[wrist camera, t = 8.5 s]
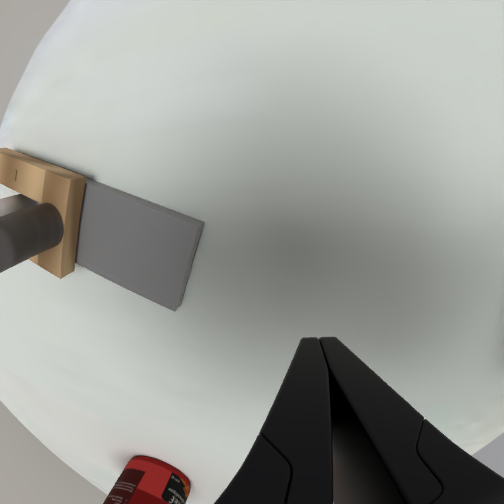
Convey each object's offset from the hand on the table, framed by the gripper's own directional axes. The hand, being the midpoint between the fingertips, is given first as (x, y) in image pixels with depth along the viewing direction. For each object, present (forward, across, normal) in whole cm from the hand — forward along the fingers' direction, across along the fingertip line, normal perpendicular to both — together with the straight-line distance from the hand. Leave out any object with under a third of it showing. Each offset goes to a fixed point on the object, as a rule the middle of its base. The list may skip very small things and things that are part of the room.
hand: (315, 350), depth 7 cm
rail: (+13, +13, +1) cm, 19 cm away
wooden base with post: (+13, +18, -1) cm, 22 cm away
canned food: (+11, +13, +30) cm, 35 cm away
